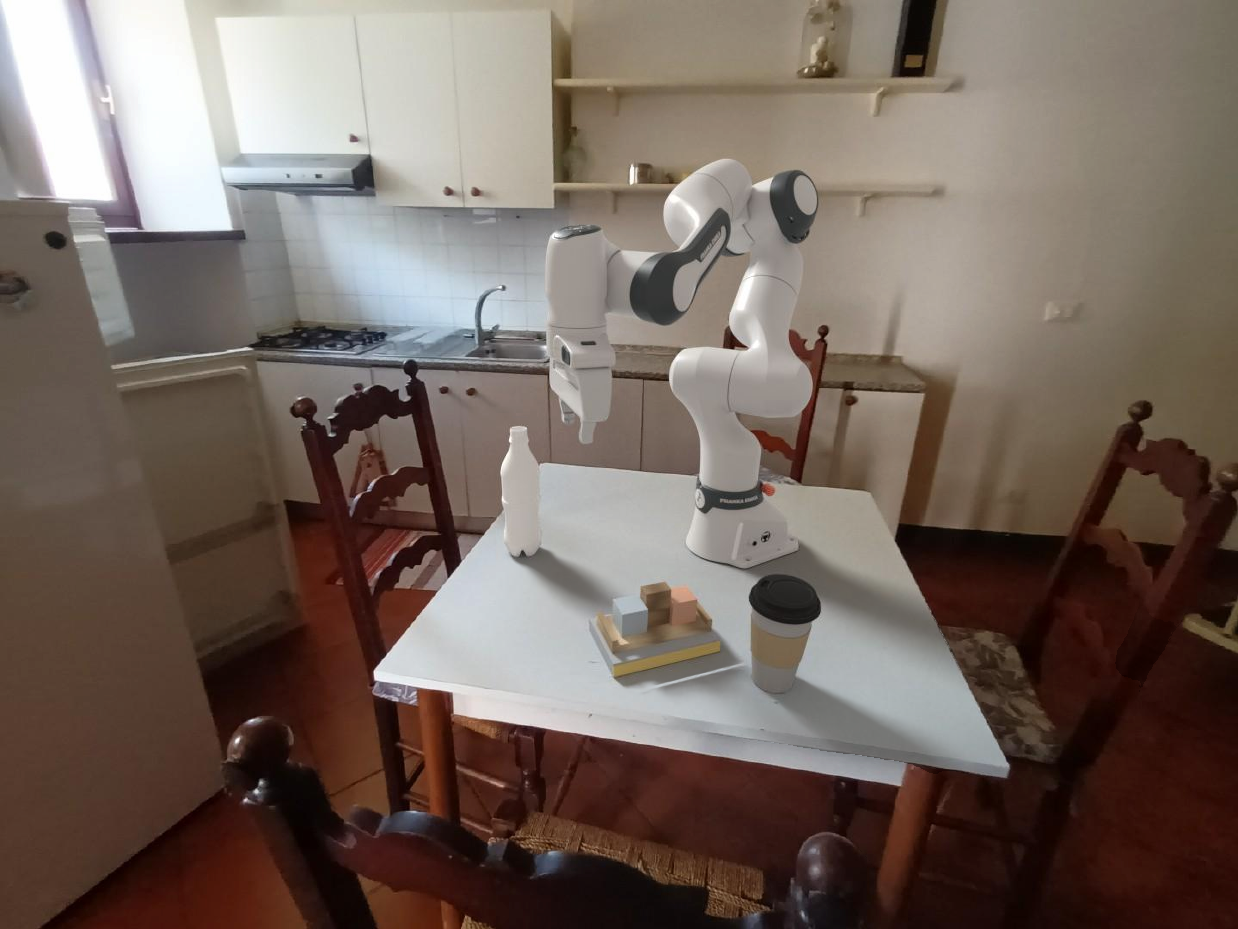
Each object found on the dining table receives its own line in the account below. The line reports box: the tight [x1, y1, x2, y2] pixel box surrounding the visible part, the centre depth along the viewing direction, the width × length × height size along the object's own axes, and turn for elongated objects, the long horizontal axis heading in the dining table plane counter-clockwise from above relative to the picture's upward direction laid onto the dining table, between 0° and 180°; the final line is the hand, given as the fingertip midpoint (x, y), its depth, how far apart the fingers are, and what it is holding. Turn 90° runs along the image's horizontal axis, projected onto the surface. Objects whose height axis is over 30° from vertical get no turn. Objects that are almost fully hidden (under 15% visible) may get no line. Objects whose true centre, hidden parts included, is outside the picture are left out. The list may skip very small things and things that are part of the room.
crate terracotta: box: [669, 584, 698, 626], centre depth 92 cm, size 4×4×4 cm
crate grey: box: [612, 593, 648, 637], centre depth 90 cm, size 4×4×4 cm
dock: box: [588, 612, 722, 678], centre depth 92 cm, size 17×11×2 cm, turn 110°
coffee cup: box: [748, 573, 822, 694], centre depth 83 cm, size 9×9×15 cm
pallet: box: [596, 581, 713, 654], centre depth 91 cm, size 16×7×7 cm, turn 110°
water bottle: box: [500, 425, 543, 558], centre depth 112 cm, size 7×7×25 cm
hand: (576, 432), depth 94 cm, fingers open, 8 cm apart
